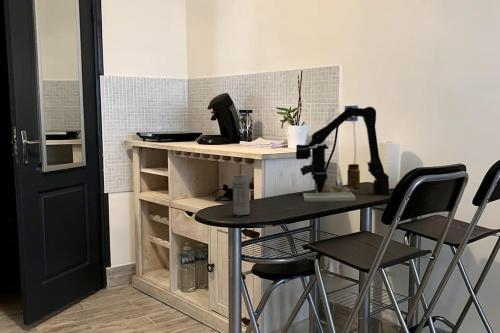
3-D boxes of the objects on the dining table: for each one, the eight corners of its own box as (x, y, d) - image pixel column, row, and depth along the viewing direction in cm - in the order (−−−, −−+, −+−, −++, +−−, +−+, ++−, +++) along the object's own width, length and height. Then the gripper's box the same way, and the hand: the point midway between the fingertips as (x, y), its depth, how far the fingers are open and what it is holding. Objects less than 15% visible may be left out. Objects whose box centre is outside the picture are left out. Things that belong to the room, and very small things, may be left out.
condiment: (363, 187, 251) (363, 164, 250) (353, 189, 245) (353, 165, 244) (351, 186, 256) (350, 163, 255) (341, 188, 250) (341, 164, 249)
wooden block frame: (347, 192, 235) (347, 182, 235) (350, 195, 226) (349, 184, 226) (315, 193, 236) (315, 182, 236) (316, 196, 227) (316, 185, 227)
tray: (350, 196, 224) (350, 192, 224) (355, 201, 210) (355, 196, 210) (303, 197, 225) (303, 193, 225) (304, 202, 211) (304, 197, 211)
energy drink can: (253, 214, 185) (252, 174, 184) (242, 217, 181) (240, 176, 180) (241, 213, 189) (240, 173, 188) (230, 215, 185) (228, 175, 184)
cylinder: (341, 193, 233) (341, 180, 232) (342, 194, 230) (342, 181, 229) (335, 193, 233) (335, 181, 232) (335, 194, 230) (335, 181, 229)
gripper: (300, 158, 240) (301, 190, 242) (301, 160, 222) (302, 195, 223) (323, 157, 239) (324, 189, 241) (327, 160, 221) (327, 195, 222)
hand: (319, 192), depth 232 cm, fingers closed on wooden block frame, 4 cm apart
